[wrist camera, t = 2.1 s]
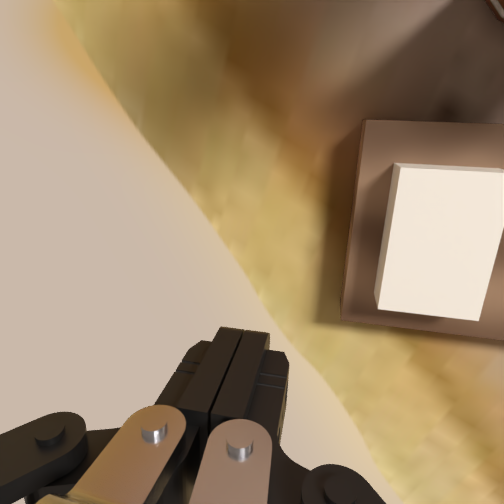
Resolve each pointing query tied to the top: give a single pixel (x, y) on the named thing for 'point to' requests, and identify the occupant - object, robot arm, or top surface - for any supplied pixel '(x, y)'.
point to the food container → (497, 8)
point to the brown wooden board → (375, 206)
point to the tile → (440, 239)
